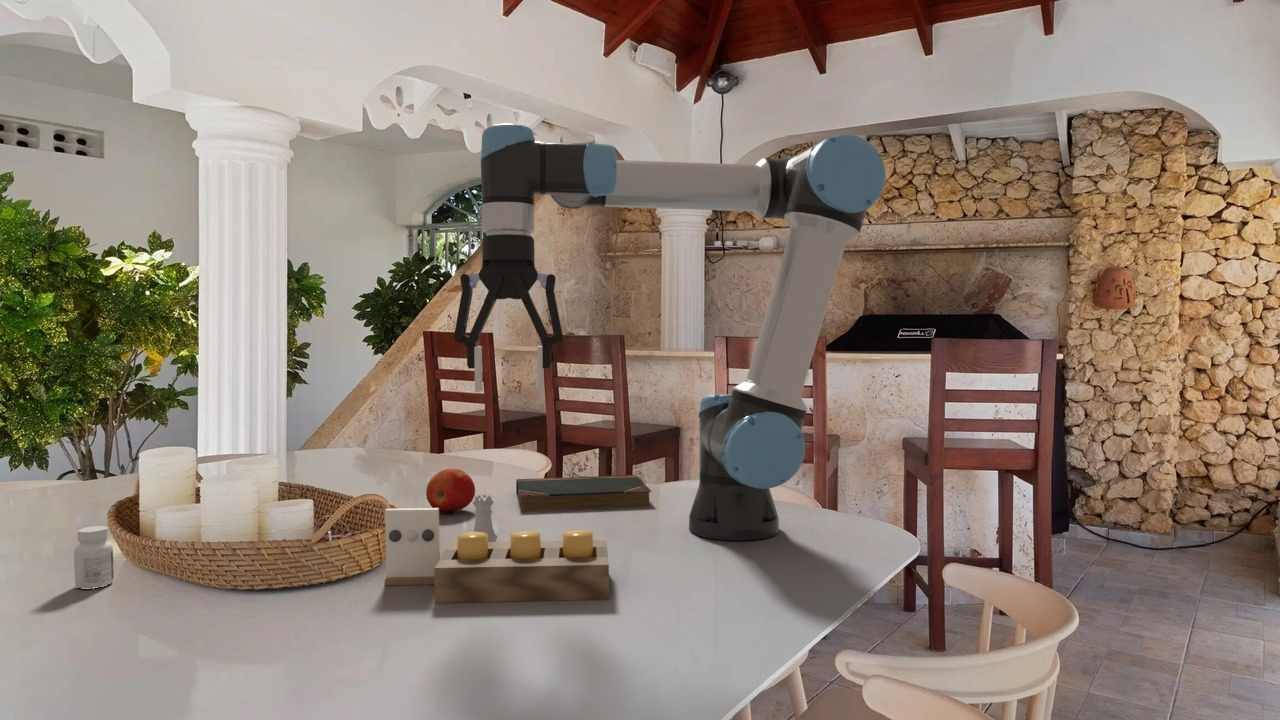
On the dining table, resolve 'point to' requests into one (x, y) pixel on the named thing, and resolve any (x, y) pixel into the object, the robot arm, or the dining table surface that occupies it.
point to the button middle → (525, 545)
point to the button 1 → (472, 545)
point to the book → (582, 492)
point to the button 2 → (577, 544)
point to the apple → (450, 490)
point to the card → (411, 545)
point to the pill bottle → (93, 558)
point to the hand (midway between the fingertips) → (509, 390)
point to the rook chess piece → (484, 516)
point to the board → (522, 575)
